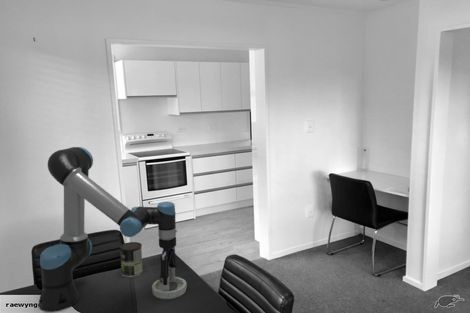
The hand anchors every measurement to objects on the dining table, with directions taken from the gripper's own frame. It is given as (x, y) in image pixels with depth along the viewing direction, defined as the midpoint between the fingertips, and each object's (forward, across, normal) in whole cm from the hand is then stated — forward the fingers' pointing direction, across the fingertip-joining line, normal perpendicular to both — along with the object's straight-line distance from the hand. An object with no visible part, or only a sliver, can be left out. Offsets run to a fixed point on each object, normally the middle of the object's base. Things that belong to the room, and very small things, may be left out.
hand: (169, 286), depth 165 cm
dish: (+2, 0, 0) cm, 2 cm away
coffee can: (+2, +16, +24) cm, 29 cm away
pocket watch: (0, 0, 0) cm, 0 cm away
